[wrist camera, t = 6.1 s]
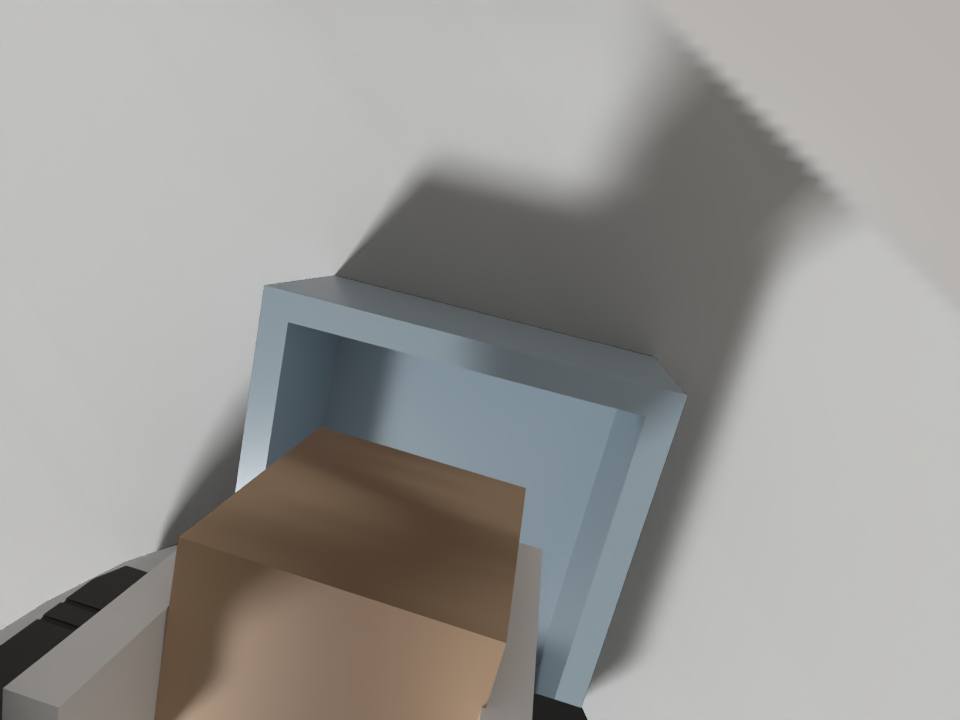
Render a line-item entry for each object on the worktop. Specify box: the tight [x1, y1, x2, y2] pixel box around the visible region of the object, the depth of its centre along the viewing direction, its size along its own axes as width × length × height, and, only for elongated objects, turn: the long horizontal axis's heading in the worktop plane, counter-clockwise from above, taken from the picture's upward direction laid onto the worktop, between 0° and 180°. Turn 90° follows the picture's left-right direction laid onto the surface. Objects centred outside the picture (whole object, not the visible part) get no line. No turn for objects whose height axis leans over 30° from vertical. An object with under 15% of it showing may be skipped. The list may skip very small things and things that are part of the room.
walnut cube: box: [154, 427, 526, 720], centre depth 11 cm, size 5×5×5 cm
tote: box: [235, 276, 688, 708], centre depth 22 cm, size 14×19×6 cm
